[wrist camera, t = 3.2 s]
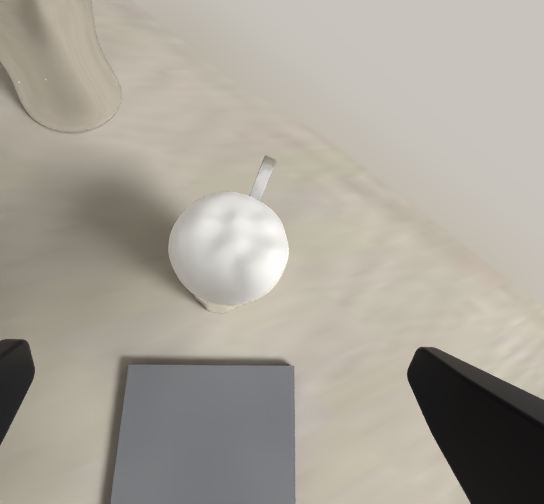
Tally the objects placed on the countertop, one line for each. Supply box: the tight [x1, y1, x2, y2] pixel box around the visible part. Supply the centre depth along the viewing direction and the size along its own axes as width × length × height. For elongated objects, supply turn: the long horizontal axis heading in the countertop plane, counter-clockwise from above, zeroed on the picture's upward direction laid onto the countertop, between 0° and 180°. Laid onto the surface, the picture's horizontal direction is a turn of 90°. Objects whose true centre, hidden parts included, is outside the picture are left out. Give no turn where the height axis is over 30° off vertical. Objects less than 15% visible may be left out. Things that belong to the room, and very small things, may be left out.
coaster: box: [110, 364, 295, 504], centre depth 18 cm, size 9×9×1 cm
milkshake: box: [168, 155, 289, 313], centre depth 16 cm, size 4×5×10 cm
